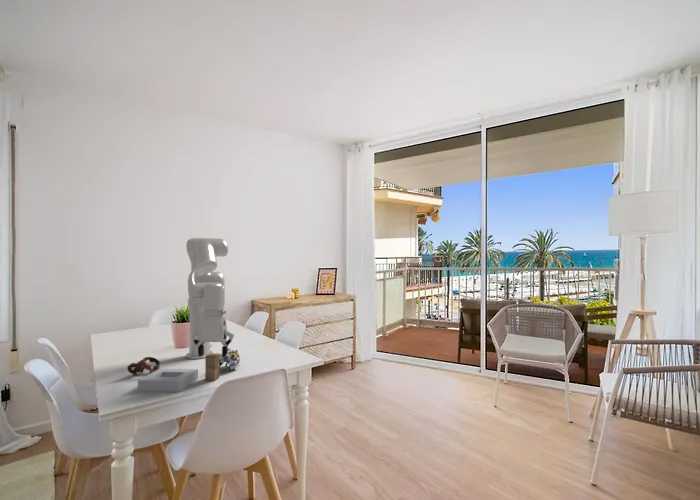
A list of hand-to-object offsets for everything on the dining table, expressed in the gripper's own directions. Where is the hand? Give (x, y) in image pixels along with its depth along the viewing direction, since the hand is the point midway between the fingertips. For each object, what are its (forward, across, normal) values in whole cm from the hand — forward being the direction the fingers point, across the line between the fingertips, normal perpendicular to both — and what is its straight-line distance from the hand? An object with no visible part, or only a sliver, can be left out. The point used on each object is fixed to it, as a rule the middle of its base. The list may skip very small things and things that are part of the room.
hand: (212, 355), depth 142 cm
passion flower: (+10, 0, -14) cm, 17 cm away
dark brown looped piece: (+9, +32, -4) cm, 34 cm away
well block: (+10, +14, +6) cm, 18 cm away
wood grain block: (+10, 0, -1) cm, 10 cm away
